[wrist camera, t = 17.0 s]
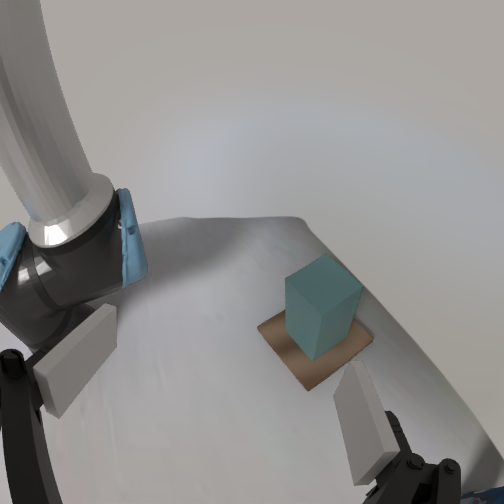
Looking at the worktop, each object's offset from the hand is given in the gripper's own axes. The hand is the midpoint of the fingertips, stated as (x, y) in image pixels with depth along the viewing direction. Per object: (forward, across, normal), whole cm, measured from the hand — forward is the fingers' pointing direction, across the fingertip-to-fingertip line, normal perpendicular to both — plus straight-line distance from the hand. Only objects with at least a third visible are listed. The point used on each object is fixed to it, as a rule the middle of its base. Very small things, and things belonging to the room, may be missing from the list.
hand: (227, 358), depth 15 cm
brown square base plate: (+23, +12, -10) cm, 28 cm away
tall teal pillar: (+23, +11, -10) cm, 27 cm away
